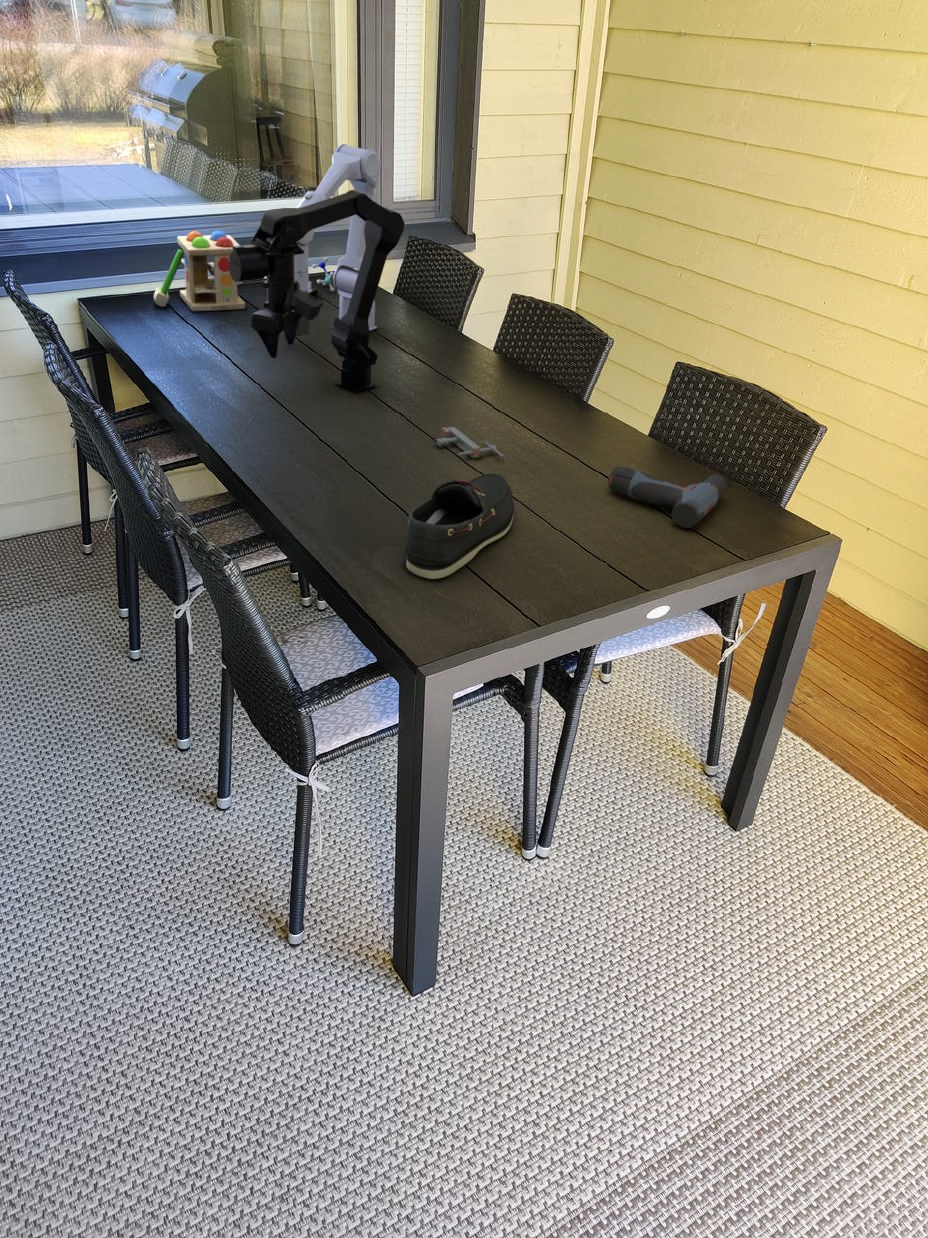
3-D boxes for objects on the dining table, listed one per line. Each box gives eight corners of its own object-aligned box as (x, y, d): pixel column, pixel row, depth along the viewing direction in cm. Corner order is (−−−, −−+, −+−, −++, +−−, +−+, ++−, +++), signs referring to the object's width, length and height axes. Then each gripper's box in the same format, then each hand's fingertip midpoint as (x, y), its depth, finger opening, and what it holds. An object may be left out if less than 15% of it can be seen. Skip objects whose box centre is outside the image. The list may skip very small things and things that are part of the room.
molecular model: (344, 283, 280) (333, 248, 279) (317, 296, 284) (305, 261, 282) (361, 286, 290) (350, 252, 289) (334, 298, 294) (323, 265, 293)
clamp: (428, 429, 204) (470, 423, 208) (427, 439, 205) (469, 432, 209) (464, 459, 193) (507, 451, 198) (463, 469, 194) (506, 461, 199)
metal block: (285, 331, 242) (284, 311, 239) (299, 328, 244) (299, 309, 241) (294, 336, 239) (294, 317, 236) (309, 334, 241) (309, 314, 239)
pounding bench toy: (159, 313, 256) (153, 242, 246) (148, 297, 266) (141, 228, 256) (246, 308, 265) (243, 239, 255) (232, 293, 276) (228, 226, 266)
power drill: (637, 467, 202) (729, 498, 194) (598, 499, 188) (695, 533, 180) (642, 443, 199) (736, 473, 191) (602, 474, 185) (701, 507, 177)
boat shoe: (539, 516, 182) (544, 464, 176) (440, 585, 158) (443, 528, 152) (480, 497, 187) (483, 446, 182) (376, 561, 163) (376, 505, 158)
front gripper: (300, 294, 193) (301, 371, 201) (333, 271, 208) (333, 343, 216) (247, 286, 194) (250, 362, 203) (284, 263, 209) (285, 335, 218)
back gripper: (300, 279, 226) (301, 337, 234) (323, 264, 238) (323, 320, 246) (272, 275, 228) (273, 332, 235) (295, 260, 239) (296, 316, 247)
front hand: (282, 350), depth 210 cm, fingers open, 9 cm apart
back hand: (297, 326), depth 241 cm, fingers closed on metal block, 6 cm apart
